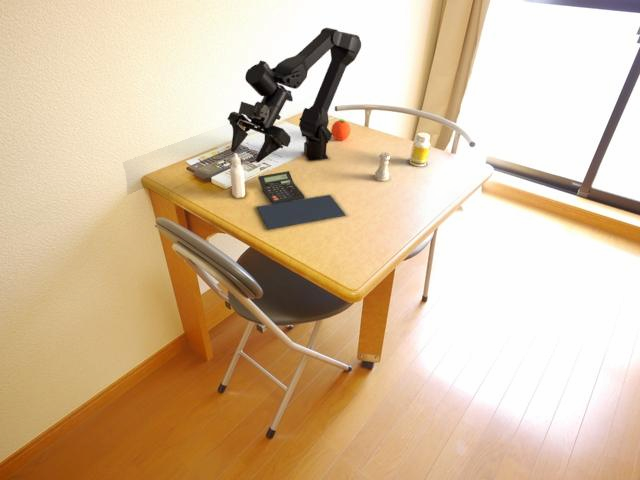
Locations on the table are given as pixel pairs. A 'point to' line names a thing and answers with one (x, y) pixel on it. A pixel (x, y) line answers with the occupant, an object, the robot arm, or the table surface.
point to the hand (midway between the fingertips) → (244, 156)
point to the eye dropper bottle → (237, 177)
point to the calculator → (280, 187)
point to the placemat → (299, 211)
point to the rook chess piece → (383, 168)
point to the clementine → (340, 130)
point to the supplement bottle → (420, 149)
